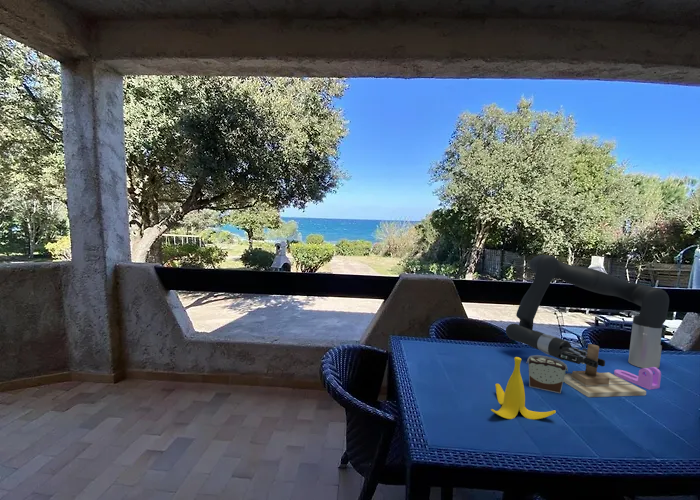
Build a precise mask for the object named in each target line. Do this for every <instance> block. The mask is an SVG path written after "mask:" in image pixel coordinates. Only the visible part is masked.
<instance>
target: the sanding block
mask: <svg viewBox="0 0 700 500" xmlns="http://www.w3.org/2000/svg"><path fill="white" fill-rule="evenodd" d="M599 352H600V346H599V345H596V344H594V343H593V344H592V343H588V345H587V358H589V359H592V360H595V361H597V362H598V358H599V354H600V353H599ZM597 370H598V367H597V368H594V367H592V366H589V365H587V364H585V369H584V370H573V371H572V379H573V380H575V381H577V382H578V383H580V384H582V385H584V386H585V387H591V386H609V378H608V377H606V376H604V375H602V374H600V373H601V372H598V371H597Z"/></svg>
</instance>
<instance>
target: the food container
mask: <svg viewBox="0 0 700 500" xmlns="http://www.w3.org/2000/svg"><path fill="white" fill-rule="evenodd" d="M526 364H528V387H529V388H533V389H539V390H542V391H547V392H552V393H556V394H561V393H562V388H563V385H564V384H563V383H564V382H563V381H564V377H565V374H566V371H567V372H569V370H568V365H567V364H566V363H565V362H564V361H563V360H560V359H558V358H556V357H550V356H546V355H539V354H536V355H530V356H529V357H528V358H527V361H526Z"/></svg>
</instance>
